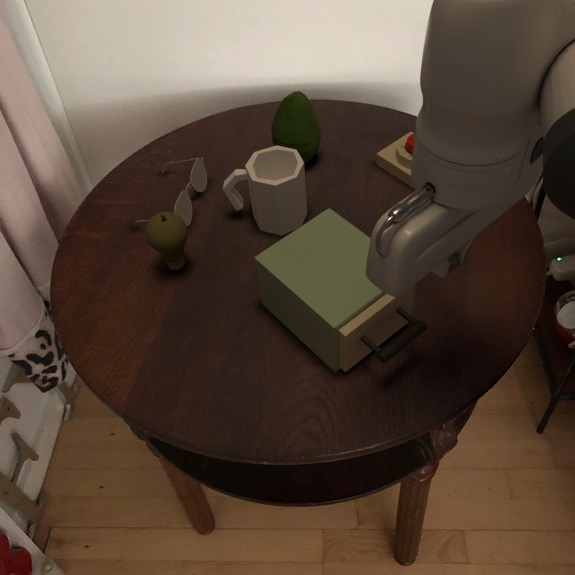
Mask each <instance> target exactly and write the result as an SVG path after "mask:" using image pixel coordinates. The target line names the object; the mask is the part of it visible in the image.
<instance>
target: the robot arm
mask: <svg viewBox="0 0 575 575" xmlns="http://www.w3.org/2000/svg"><path fill="white" fill-rule="evenodd" d="M419 86H420V92H421V95H422V105H421V107H420V110H419V111H418V114H417V116H416V120H415V124H414V125H415V126H414V133H415V134H414V144H413V154H412V164H411V177H412V180H413V182H414V184H415V186H416V187H417V190H414V191H413V192H412V193H410V194H409V195H408V196H406V197H405V198H403V199H402V200H400V201H399V202H398V203H396V204H394V205H393V206H392V207H390V208H389V209H388V210H386V212H384V213H383V214H382V215H381V216H380V217H379V219H378V220H377V222H376V223H375V225H374V228H373V230H372V233H371V236H370V238H371V240H370V245H369V250H368V256H367V263H366V276H367V278H368V279H369V280H370V282H372V283H373V284H374V285H375V286H376V287H378V288H379V289H380V290H382V291H383V292H385V293H386V294H388V295H390V296H393V297H399V296H401V295H402V294H403V293H405V292H406V291H407V290H408V289H410V288H411V287H412V286H413V285H415V286H416V284H417V283H419V282H420V281H421V280H422V279H424V278H425V277H426V276H427V275H429V274H430V273H431V272H432V273H433V274H435V275H436V276H438V277H439V278H441V279H444V278H445V277H446V276H448V275H449V274H450V273H451V272H452V271H454V270H455V269H456V268H458V267H459V266H460V265H461V264H462V263H464V259H465V254H466V252H467V251H468V249H469V248H470V246H471V245H472V242H473V241H474V240H475V238H476V236H477V235H478V234H479V233H481V232H482V231H483V230H485V229H486V228H487V227H489V226H490V225H491V224H492V223H493V222H494V221H496V220H497V219H498V218H500V217H501V216H502V215H503V214H504V213H506V212H507V211H508V210H509V209H511V208H512V207H514V205H516V204H517V203H518V202H520V201H521V200H522V199H524V198H525V197H526V196H527V195H528V194H529V193H530V191H531V190H532V188H533V187H534V186H535V184H536V182H537V181H538V178H539V175H540V172H541V170H542V187H543V190H544V193H545V195H546V197H547V198H548V200H549V202H550V203H551V204H552V206H554V207H555V208H556V209H557V210H559V211H560V212H561V213H563V214H564V215H566V216H568V217H569V218H571V219H573V220H574V221H575V0H433V1H432V4H431V8H430V12H429V16H428V20H427V25H426V30H425V35H424V42H423V49H422V57H421V65H420V74H419Z"/></svg>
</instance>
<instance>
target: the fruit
mask: <svg viewBox="0 0 575 575" xmlns="http://www.w3.org/2000/svg"><path fill="white" fill-rule="evenodd" d="M270 132H271V142H272V144H273V146H276V145H277V146H282V147H286V148H291V149H295V150H297V151H298V153H299V155H300V157H301V158H302V160H303V162H304V164H306V163H308V162H309V161H310V160H312V159H313V157H314V156H315V155H316V153H317V152H318V151H319V147H320V144H321V141H322V132H321V123H320V121H319V118H318V116H317V114H316V112H315V109H314V107H313V106H312V103H311V101H310V99H309V98H308V96H307V95H306V94H305V93H303V92H302V91H298V90H297V91H293V92H290V93H289V94H288V95H286V96H285V97H283V98H282V100H281V101H280V102H279V105H278V107H277V109H276V111H275V114H274V116H273V121H272V124H271V127H270Z"/></svg>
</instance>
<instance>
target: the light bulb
mask: <svg viewBox="0 0 575 575" xmlns="http://www.w3.org/2000/svg"><path fill="white" fill-rule="evenodd" d="M148 220H149V221H147V224H146V227H145V237H146V240H147V242H148V244H149V246H150V247H151V248H152V249H153V250H155V251H156V253H158V254H160V255H161V256H162V258H163V259H164V260H165V261H166V264H167V266H168V268H169V269H170V270H172V271H178V270H180V269H182V268H183V267H184V266H185V263H186V261H185V258H184V254H185V246H186V245H187V244H186V243H187V241H188V236H189V230H188V226H186V224H185V222H184V220H183V219H182V218H181V217H180V216H179V215H177V214H175V213H174V212H171V211H161V212H157V213H156V214H154V215H153V216H152V217H151V218H150V219H148Z"/></svg>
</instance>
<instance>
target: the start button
mask: <svg viewBox="0 0 575 575" xmlns="http://www.w3.org/2000/svg"><path fill="white" fill-rule="evenodd" d="M413 133H414V134H415V132H413ZM414 134H412V135H410V136H409V137H408V138H407V145H406V150H407V152H408V153H409V154H411V155H412V154H413V144H414Z"/></svg>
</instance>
